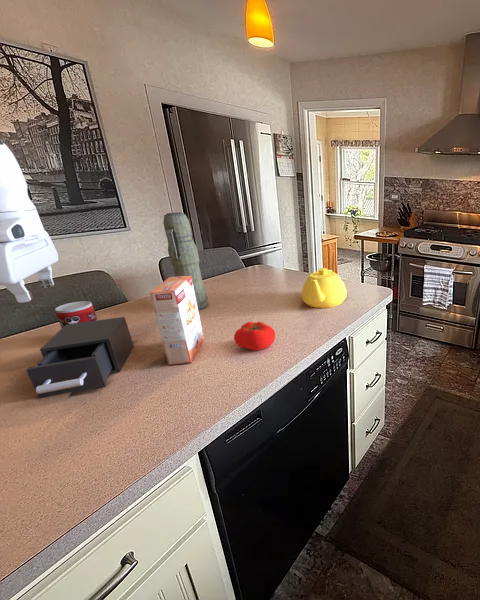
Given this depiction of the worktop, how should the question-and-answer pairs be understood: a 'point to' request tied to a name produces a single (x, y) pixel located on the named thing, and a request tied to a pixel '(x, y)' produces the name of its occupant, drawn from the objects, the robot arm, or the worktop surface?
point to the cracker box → (178, 319)
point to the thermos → (184, 253)
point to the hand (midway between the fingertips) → (37, 293)
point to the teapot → (323, 289)
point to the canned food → (75, 313)
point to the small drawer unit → (95, 338)
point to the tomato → (254, 336)
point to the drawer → (72, 370)
